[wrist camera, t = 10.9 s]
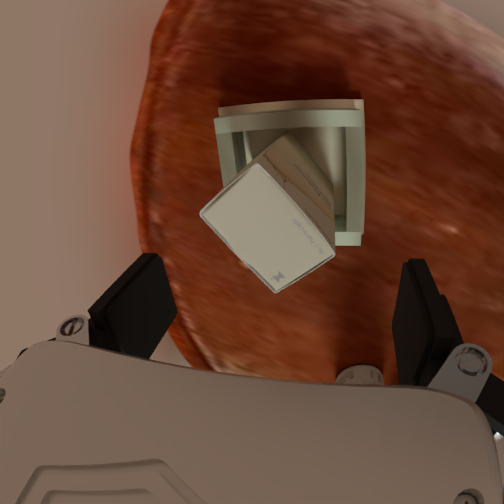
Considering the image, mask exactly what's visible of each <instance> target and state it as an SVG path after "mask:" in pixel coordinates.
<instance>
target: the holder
mask: <svg viewBox="0 0 504 504" xmlns="http://www.w3.org/2000/svg"><path fill="white" fill-rule="evenodd" d="M218 111H219V117H218V118H214V124H215V131H216V138H217V145H218V152H219V159H220V166H221V173H222V180H223V186H224V187H225V186H226V185H227V184H228V183H229V182H230V181H231V180H232V179H233V178H234V177H235V176H236V175H237V174H238V173H239V172H240V171H241V170H242V169H243V168H244V167H245V166H246V165H247V164H248V163H250V162H251V161H252V160H253V159H254V158H255V157H256V156H257V155H258V154H260V153H261V152H262V151H263V150H264V149H265V148H267V147H268V146H269V145H270V144H271V143H273V142H274V141H275V140H276V139H278V138H279V137H280V136H281V135H283V134H284V133H285V132H287V131H289V132H290V133H291V134H292V135H293V136H294V138H295V139H296V140H297V141H298V142H299V143H300V144H301V146H302V147H303V148H304V149H305V150H306V151H307V152H308V154H309V155H310V156H311V157H312V158H313V160H314V161H315V162H316V163H317V164H318V166H319V167H320V168H321V169H322V171H323V172H324V173H325V175H326V176H327V177H328V179H329V180H330V181H331V182H332V184H333V192H334V217H335V245H345V246H361V234H364V214H365V123H364V103H363V100H362V99H318V100H293V101H277V102H265V103H254V104H244V105H236V106H228V107H220V108H218Z"/></svg>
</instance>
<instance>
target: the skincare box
mask: <svg viewBox="0 0 504 504" xmlns="http://www.w3.org/2000/svg"><path fill="white" fill-rule="evenodd" d="M200 217H201V218H202V219H203V220H204V221H205V222H206V223H207V224H208V225H209V226H210V227H211V228H212V230H213V231H214V232H215V233H216V234H217V235H218V236H219V237H220V238H221V239H222V240H223V241H224V242H225V243H226V244H227V245H228V247H229V248H230V249H231V250H232V251H233V252H234V253H235V254H236V255H237V256H238V257H239V258H240V259H241V260H242V261H243V262H244V263H245V264H246V265H247V266H248V267H249V268H250V269H251V270H252V271H253V272H254V273H255V274H256V275H257V276H258V277H259V278H260V279H261V280H262V281H263V282H264V283H265V284H266V285H267V286H268V287H269V288H270V289H271V290H272V291H273V292H274V293H277V292H279V291H280V290H282V289H284V288H286V287H287V286H289V285H291V284H292V283H294V282H296V281H298V280H299V279H301V278H302V277H304V276H306V275H307V274H309V273H310V272H312V271H314V270H315V269H317V268H318V267H320V266H321V265H323V264H324V263H326V262H327V261H328V260H330V259H331V258H333V257H334V256H335V254H336V253H335V217H334V192H333V184H332V182H331V181H330V180H329V179H328V177H327V176H326V175H325V173H324V172H323V171H322V169H321V168H320V167H319V166H318V164H317V163H316V162H315V161H314V160H313V158H312V157H311V156H310V155H309V154H308V152H307V151H306V150H305V149H304V148H303V147H302V146H301V144H300V143H299V142H298V141H297V140H296V139H295V138H294V136H293V135H292V134H291V133H290V132H289V131H287V132H285V133H284V134H283V135H281V136H280V137H279V138H278V139H276V140H275V141H274V142H273V143H271V144H270V145H269V146H268V147H267V148H265V149H264V150H263V151H262V152H261V153H260V154H258V155H257V156H256V157H255V158H254V159H253V160H252V161H251V162H250V163H248V164H247V165H246V166H245V167H244V168H243V169H242V170H241V171H240V172H239V173H238V174H237V175H236V176H235V177H234V178H233V179H232V180H231V181H230V182H229V183H228V184H227V185H226V186H225V187H224V188H223V189H222V190H221V191H220V192H219V193H218V194H217V195H216V196H215V197H214V198H213V199H212V200H211V201H210V202H209V203H208V204H207V205H206V206H205V207H203V209H202V210H201V211H200Z"/></svg>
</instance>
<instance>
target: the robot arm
mask: <svg viewBox="0 0 504 504" xmlns="http://www.w3.org/2000/svg"><path fill="white" fill-rule="evenodd" d="M88 312H89V314H90V316H91V318H90V319H89V320H88V319H87V317H86V316H84V315H74V316H71V317H69V318H67V319H65V320H64V321H63V322H62V323H61V324H60V325H59V327H58V329H57V333H56V338H53V339H50V340H48V341H44V342H40V343H36V344H34V345H32V346H30V347H29V348H26V349H24V350H22V351H21V353H20V354H19V356H18V357H17V359H16V361H15V362H14V363H13V364H11V365H10V366H8V367H7V368H5V369H4V370H2V371H0V504H504V381H502V380H501V379H499V378H498V377H496V376H495V375H493V374H492V373H490V372H491V369H492V360H491V358H490V356H489V354H488V353H487V352H486V351H485V350H484V349H483V348H481V347H480V346H477V345H474V344H468V343H467V344H464V343H463V340H462V337H461V334H460V332H459V329H458V326H457V324H456V321H455V318H454V316H453V313H452V311H451V308H450V306H449V303H448V301H447V298H446V297H445V295H443V294H442V295H440V294H439V291H438V289H437V286H436V284H435V282H434V279H433V277H432V275H431V272H430V270H429V268H428V266H427V263H426V261H425V260H424V259H409V260H408V262H404V263H403V267H402V273H401V279H400V285H399V291H398V296H397V301H396V306H395V311H394V316H393V320H392V332H393V339H394V345H395V353H396V360H397V368H398V377H399V385H380V384H344V383H324V382H307V381H294V380H282V379H272V378H262V377H254V376H245V375H237V374H230V373H223V372H216V371H210V370H203V369H197V368H192V367H185V366H180V365H174V364H170V363H165V362H160V361H155V360H150V359H149V358H150V356H151V355H152V353H153V352H154V350H155V348H156V347H157V345H158V344H159V342H160V341H161V339H162V337H163V336H164V334H165V333H166V331H167V329H168V328H169V326H170V325H171V323H172V322H173V320H174V319H175V317H176V314H177V308H176V305H175V301H174V298H173V295H172V292H171V288H170V285H169V281H168V278H167V275H166V271H165V268H164V264H163V260H162V258H161V257H159V256H158V254H156V253H143V254H142V255H141V256H140V257H139V258H138V259H137V260H136V261H135V262H134V263H133V264H132V265H131V266H130V267H129V268H128V269H127V270H126V271H125V272H124V273H123V274H122V275H121V276H120V277H119V278H118V279H117V280H116V281H115V282H114V283H113V284H112V285H111V286H110V287H109V288H108V289H107V290H106V291H105V292H104V294H103V295H102V296H101V297H100V298H99V299H98V300H97V301H96V302H95V303H94V304H93V305H92V306H91V307H90V308H89V310H88ZM502 483H503V493H502Z"/></svg>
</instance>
